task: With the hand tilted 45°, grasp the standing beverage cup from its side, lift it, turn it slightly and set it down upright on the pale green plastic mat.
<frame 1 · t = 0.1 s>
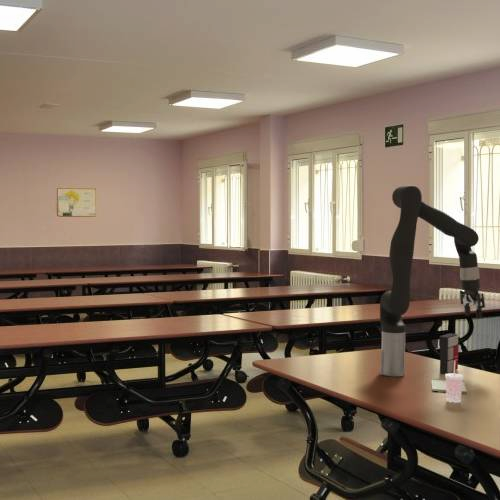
hand: (473, 316, 299), 22 cm above the table, tool pointing down, fingers open, 8 cm apart
beverage cup: (453, 401, 249), on the table
grey and red box: (448, 372, 297), on the table
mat: (448, 387, 270), on the table
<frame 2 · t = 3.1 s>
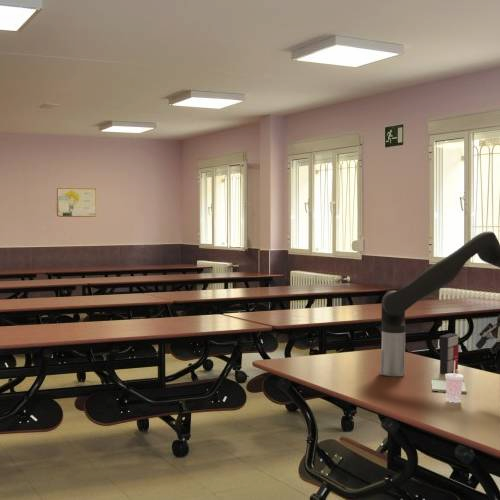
hand: (484, 349, 252), 17 cm above the table, tool tilted 45°, fingers open, 8 cm apart
nothing on the table moved.
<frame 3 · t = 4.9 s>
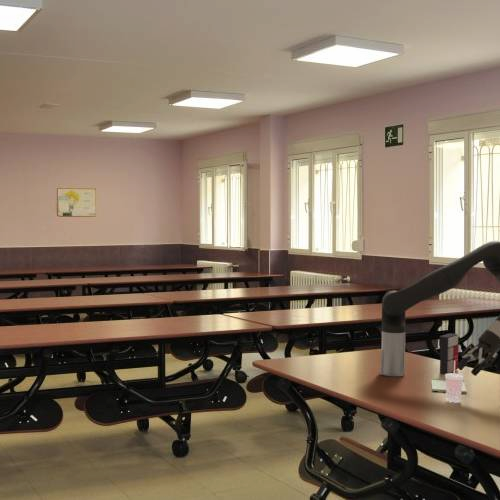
hand: (465, 371, 249), 10 cm above the table, tool tilted 45°, fingers open, 8 cm apart
nothing on the table moved.
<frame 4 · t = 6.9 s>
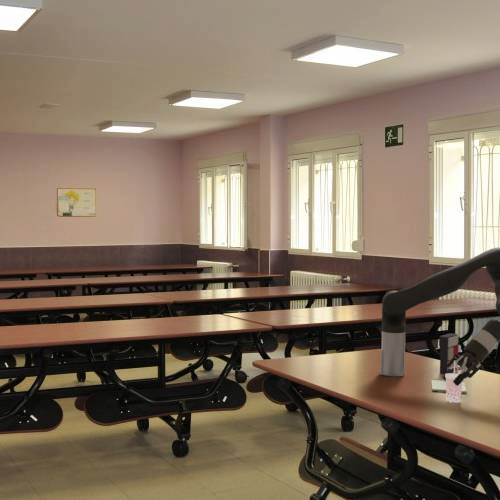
hand: (449, 381, 248), 7 cm above the table, tool tilted 45°, fingers closed on beverage cup, 6 cm apart
beverage cup: (453, 401, 249), on the table, touching gripper
everything else where it was.
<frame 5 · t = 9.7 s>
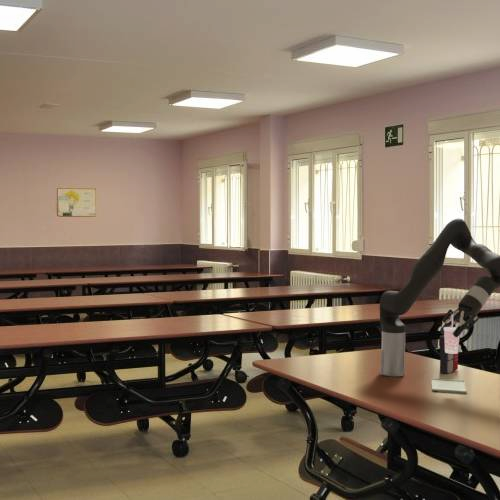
hand: (448, 334, 265), 20 cm above the table, tool tilted 45°, fingers closed on beverage cup, 6 cm apart
beverage cup: (451, 353, 266), point 13 cm above the table, touching gripper
everything else where it was.
when the fingers open (9 cm above the table, at t = 12.8 s): beverage cup drops 1 cm, resting on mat.
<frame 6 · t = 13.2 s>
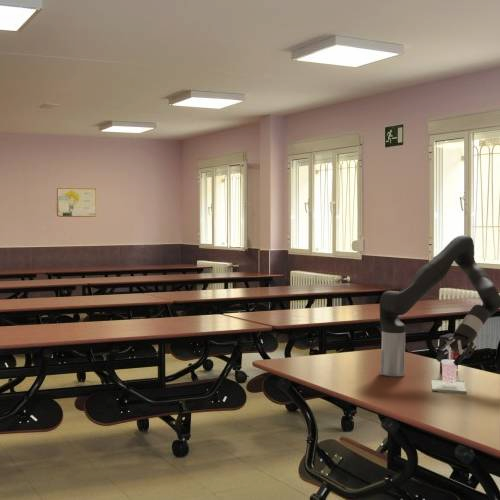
hand: (446, 362, 270), 9 cm above the table, tool tilted 45°, fingers open, 8 cm apart
beverage cup: (449, 385, 271), resting on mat
everything else where it was.
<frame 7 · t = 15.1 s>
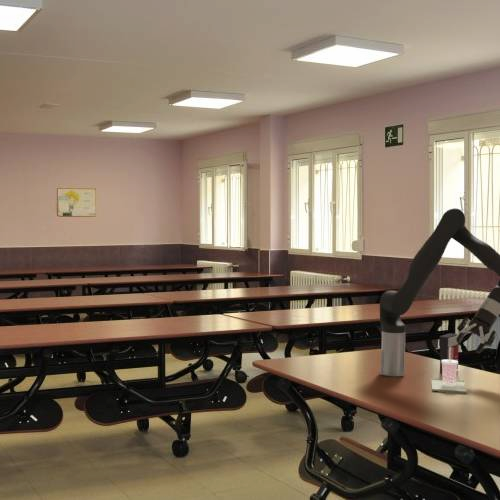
hand: (467, 347, 281), 13 cm above the table, tool tilted 35°, fingers open, 8 cm apart
nothing on the table moved.
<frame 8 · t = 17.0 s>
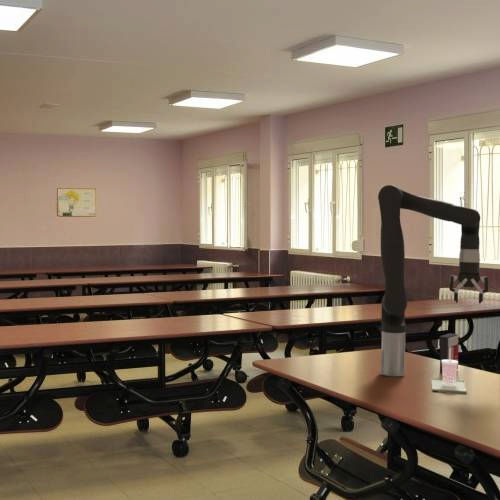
hand: (468, 302, 280), 30 cm above the table, tool pointing down, fingers open, 8 cm apart
nothing on the table moved.
at the end: beverage cup inside the target area on the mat (1.1 cm from its centre), point 0.4 cm above the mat's base; beverage cup tilted 0°; the gripper is holding nothing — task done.
